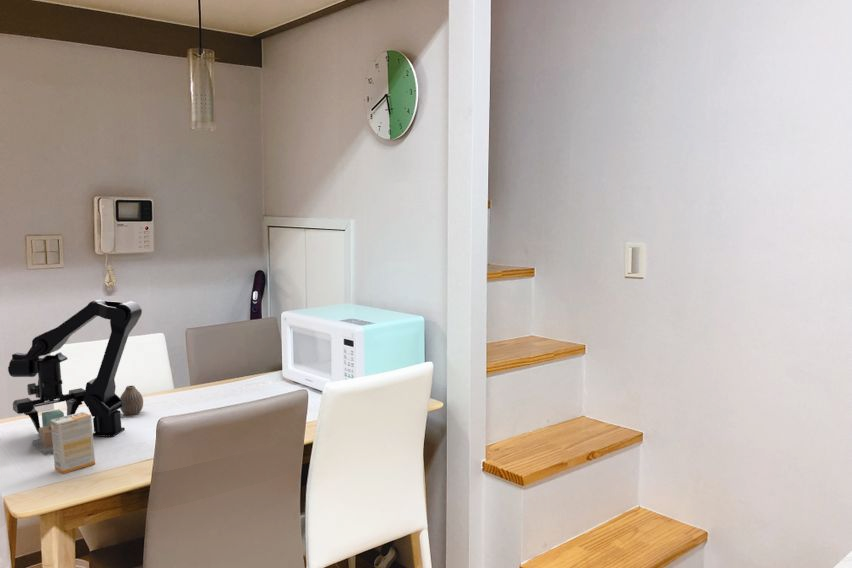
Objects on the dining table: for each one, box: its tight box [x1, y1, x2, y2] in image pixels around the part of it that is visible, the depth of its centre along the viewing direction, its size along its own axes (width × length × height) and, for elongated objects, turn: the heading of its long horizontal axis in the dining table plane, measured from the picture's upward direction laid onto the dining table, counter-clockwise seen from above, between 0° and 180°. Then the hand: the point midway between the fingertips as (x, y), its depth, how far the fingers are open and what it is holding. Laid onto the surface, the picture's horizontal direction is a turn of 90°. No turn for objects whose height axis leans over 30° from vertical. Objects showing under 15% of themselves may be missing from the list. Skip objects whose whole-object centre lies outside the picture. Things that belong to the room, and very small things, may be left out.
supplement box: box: [50, 411, 96, 474], centre depth 175 cm, size 8×5×13 cm, turn 141°
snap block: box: [41, 409, 65, 427], centre depth 201 cm, size 5×5×6 cm
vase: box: [119, 385, 144, 416], centre depth 219 cm, size 7×7×9 cm
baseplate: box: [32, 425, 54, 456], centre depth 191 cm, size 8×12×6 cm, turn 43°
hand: (54, 429), depth 202 cm, fingers open, 8 cm apart
